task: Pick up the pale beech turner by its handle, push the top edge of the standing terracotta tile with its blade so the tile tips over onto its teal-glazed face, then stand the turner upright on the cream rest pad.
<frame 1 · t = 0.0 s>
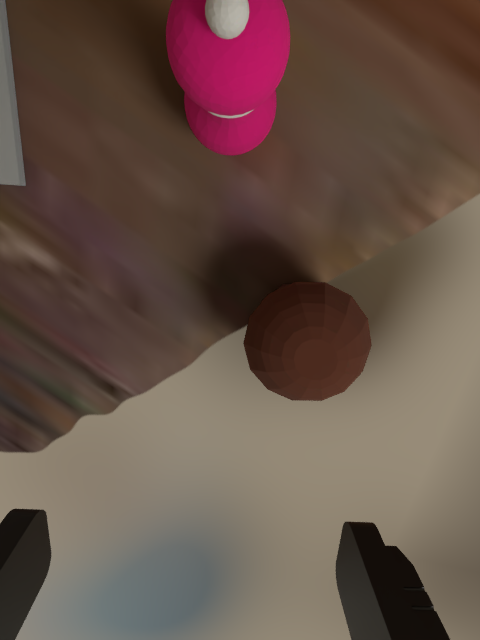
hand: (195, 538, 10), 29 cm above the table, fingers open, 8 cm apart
muffin: (295, 321, 39), on the table
pepper mill: (230, 117, 33), on the table
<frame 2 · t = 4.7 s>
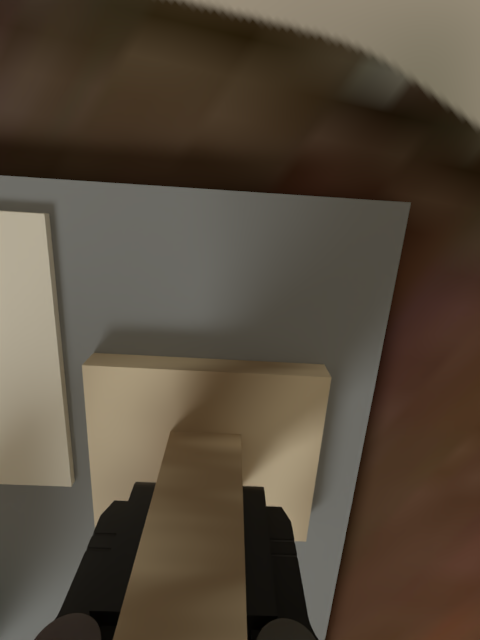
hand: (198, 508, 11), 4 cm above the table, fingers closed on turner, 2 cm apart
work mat: (86, 482, 15), on the table
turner: (206, 443, 14), point 1 cm above the table, touching gripper
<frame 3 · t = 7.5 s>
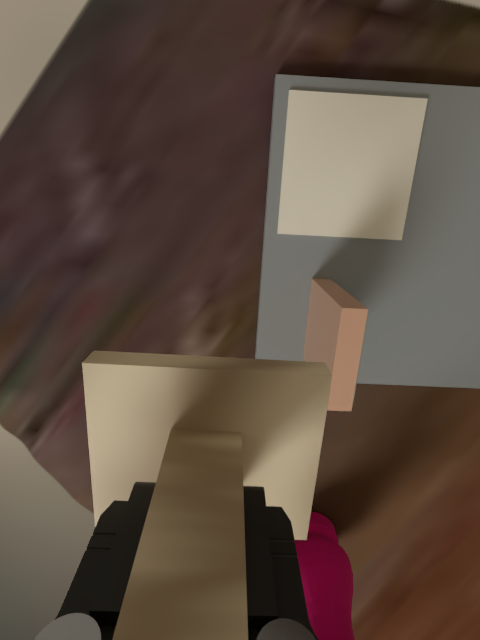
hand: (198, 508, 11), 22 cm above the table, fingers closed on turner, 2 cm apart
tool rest: (347, 169, 28), resting on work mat
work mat: (392, 250, 31), on the table
tile: (316, 318, 31), point 1 cm above the table, touching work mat
pepper mill: (305, 531, 40), on the table
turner: (207, 442, 14), point 19 cm above the table, touching gripper
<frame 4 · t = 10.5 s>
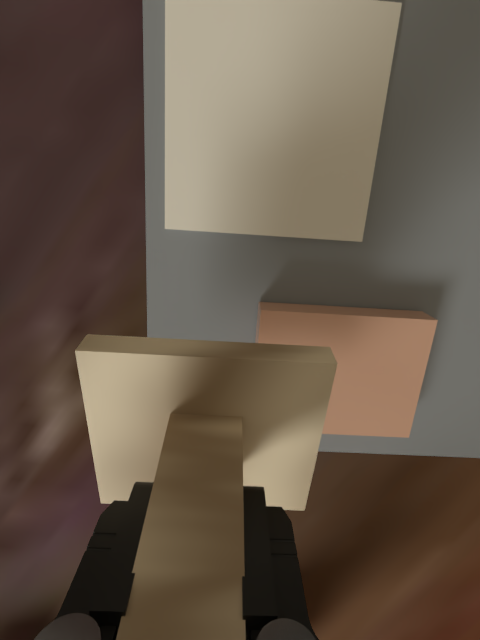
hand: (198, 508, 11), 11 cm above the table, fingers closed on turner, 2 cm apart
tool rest: (273, 126, 17), resting on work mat
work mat: (351, 257, 20), on the table
tile: (254, 367, 20), point 2 cm above the table, tilted 90°, touching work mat
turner: (207, 421, 14), point 8 cm above the table, tilted 9°, touching gripper
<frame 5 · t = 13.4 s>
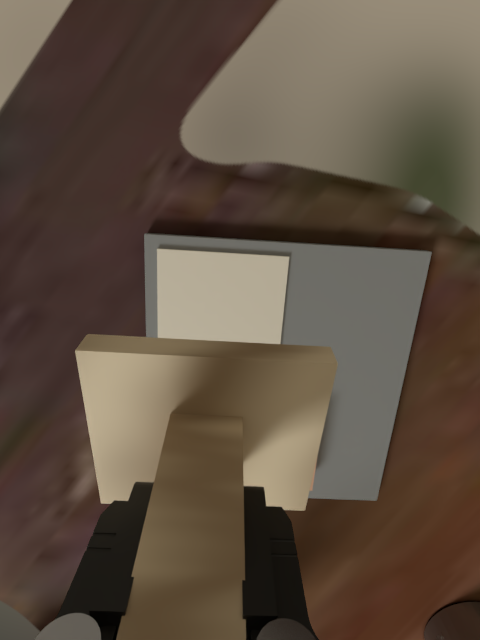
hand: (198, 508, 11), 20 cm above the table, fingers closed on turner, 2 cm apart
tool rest: (220, 314, 29), resting on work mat
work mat: (274, 379, 32), on the table
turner: (207, 421, 14), point 17 cm above the table, tilted 9°, touching gripper
when the fingers open (5 cm above the table, at t = 16.1 s): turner stays where it is, resting on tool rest.
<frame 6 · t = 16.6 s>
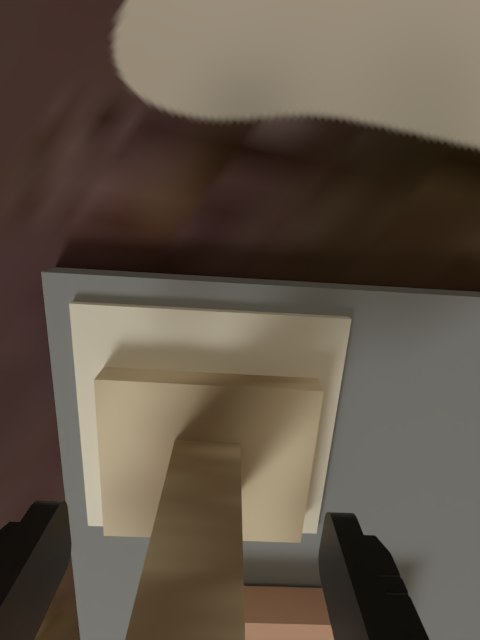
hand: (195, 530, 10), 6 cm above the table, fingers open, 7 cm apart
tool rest: (207, 427, 15), resting on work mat
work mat: (308, 526, 18), on the table
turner: (208, 451, 15), point 1 cm above the table, touching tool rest
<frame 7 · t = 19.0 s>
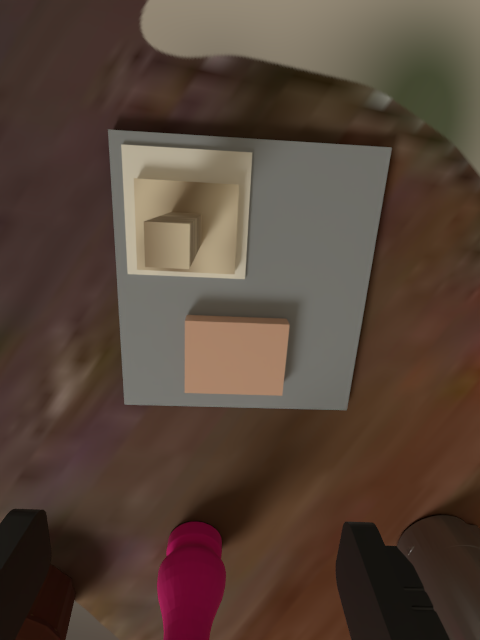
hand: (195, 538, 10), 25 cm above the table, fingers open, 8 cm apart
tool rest: (187, 215, 30), resting on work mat
muffin: (39, 586, 45), on the table
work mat: (243, 286, 33), on the table
tile: (185, 354, 33), point 2 cm above the table, tilted 90°, touching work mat
pepper mill: (195, 539, 43), on the table
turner: (187, 227, 30), point 1 cm above the table, touching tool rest
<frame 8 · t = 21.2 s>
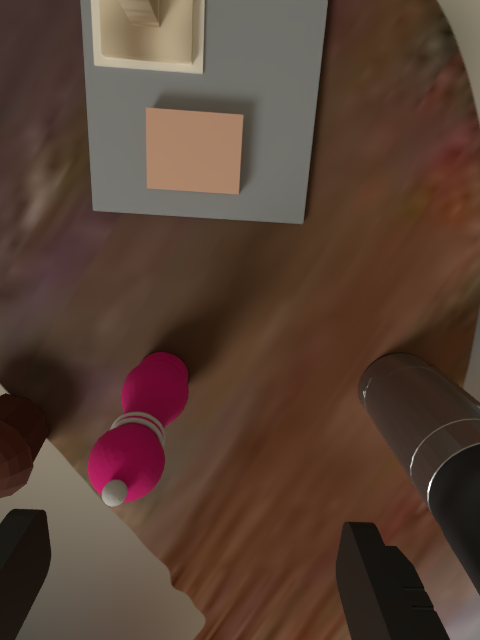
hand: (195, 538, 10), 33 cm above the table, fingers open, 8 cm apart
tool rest: (148, 4, 32), resting on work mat
muffin: (15, 423, 47), on the table
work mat: (203, 89, 35), on the table
tile: (148, 150, 35), point 2 cm above the table, tilted 90°, touching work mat
pepper mill: (163, 374, 45), on the table
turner: (148, 15, 32), point 1 cm above the table, touching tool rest
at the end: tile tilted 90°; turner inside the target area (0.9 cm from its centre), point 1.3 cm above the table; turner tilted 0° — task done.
